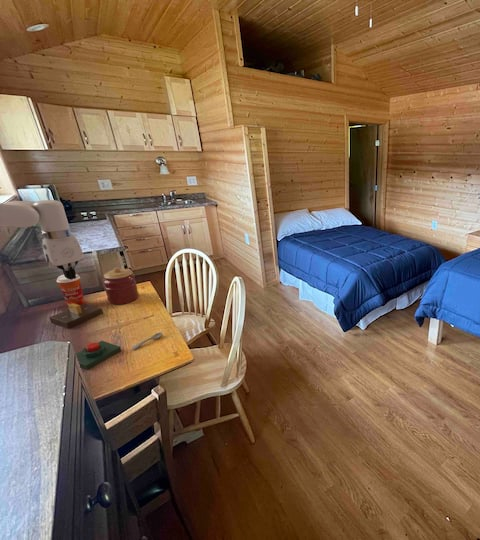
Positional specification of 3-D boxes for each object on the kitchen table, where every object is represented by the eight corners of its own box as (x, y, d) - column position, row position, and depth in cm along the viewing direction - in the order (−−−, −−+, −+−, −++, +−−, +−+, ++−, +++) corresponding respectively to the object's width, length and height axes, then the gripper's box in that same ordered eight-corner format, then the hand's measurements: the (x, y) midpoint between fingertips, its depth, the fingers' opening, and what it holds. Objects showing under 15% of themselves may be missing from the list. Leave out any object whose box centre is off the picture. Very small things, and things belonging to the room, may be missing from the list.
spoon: (164, 336, 129) (163, 332, 129) (135, 352, 120) (133, 348, 119) (160, 334, 131) (159, 330, 130) (130, 350, 121) (129, 346, 120)
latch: (82, 313, 136) (79, 304, 134) (78, 314, 134) (75, 306, 133) (74, 310, 137) (71, 302, 135) (70, 311, 136) (67, 303, 134)
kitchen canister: (112, 294, 158) (104, 263, 152) (141, 292, 163) (135, 262, 157) (104, 306, 147) (95, 273, 141) (136, 303, 153) (128, 271, 146)
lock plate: (68, 328, 129) (66, 322, 128) (51, 323, 132) (48, 316, 131) (103, 313, 142) (101, 308, 140) (86, 308, 144) (84, 303, 143)
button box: (87, 370, 108) (84, 361, 107) (68, 363, 111) (65, 354, 109) (121, 351, 119) (119, 342, 117) (103, 344, 121) (100, 336, 120)
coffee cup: (63, 309, 142) (53, 281, 136) (66, 302, 148) (57, 274, 143) (86, 306, 147) (78, 278, 141) (88, 298, 153) (80, 271, 147)
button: (91, 353, 111) (90, 349, 111) (84, 350, 112) (83, 346, 112) (102, 347, 115) (100, 343, 114) (95, 345, 115) (94, 341, 115)
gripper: (39, 240, 105) (55, 287, 112) (86, 231, 118) (98, 273, 125) (25, 237, 107) (41, 283, 114) (73, 228, 120) (85, 270, 127)
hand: (71, 278), depth 119 cm, fingers closed
